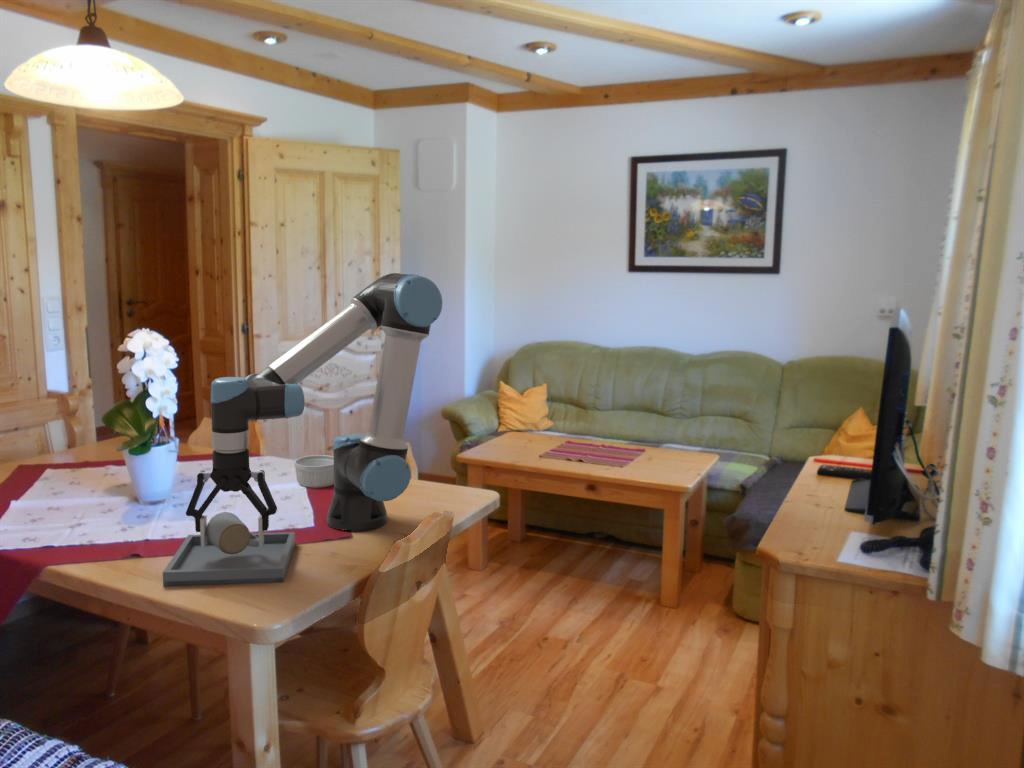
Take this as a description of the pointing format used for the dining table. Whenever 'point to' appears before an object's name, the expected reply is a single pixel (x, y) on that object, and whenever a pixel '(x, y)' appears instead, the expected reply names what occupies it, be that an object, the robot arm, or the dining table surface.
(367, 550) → the dining table surface
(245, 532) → the ceramic mug
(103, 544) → the dining table surface
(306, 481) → the ramekin
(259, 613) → the dining table surface
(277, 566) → the slate tray
